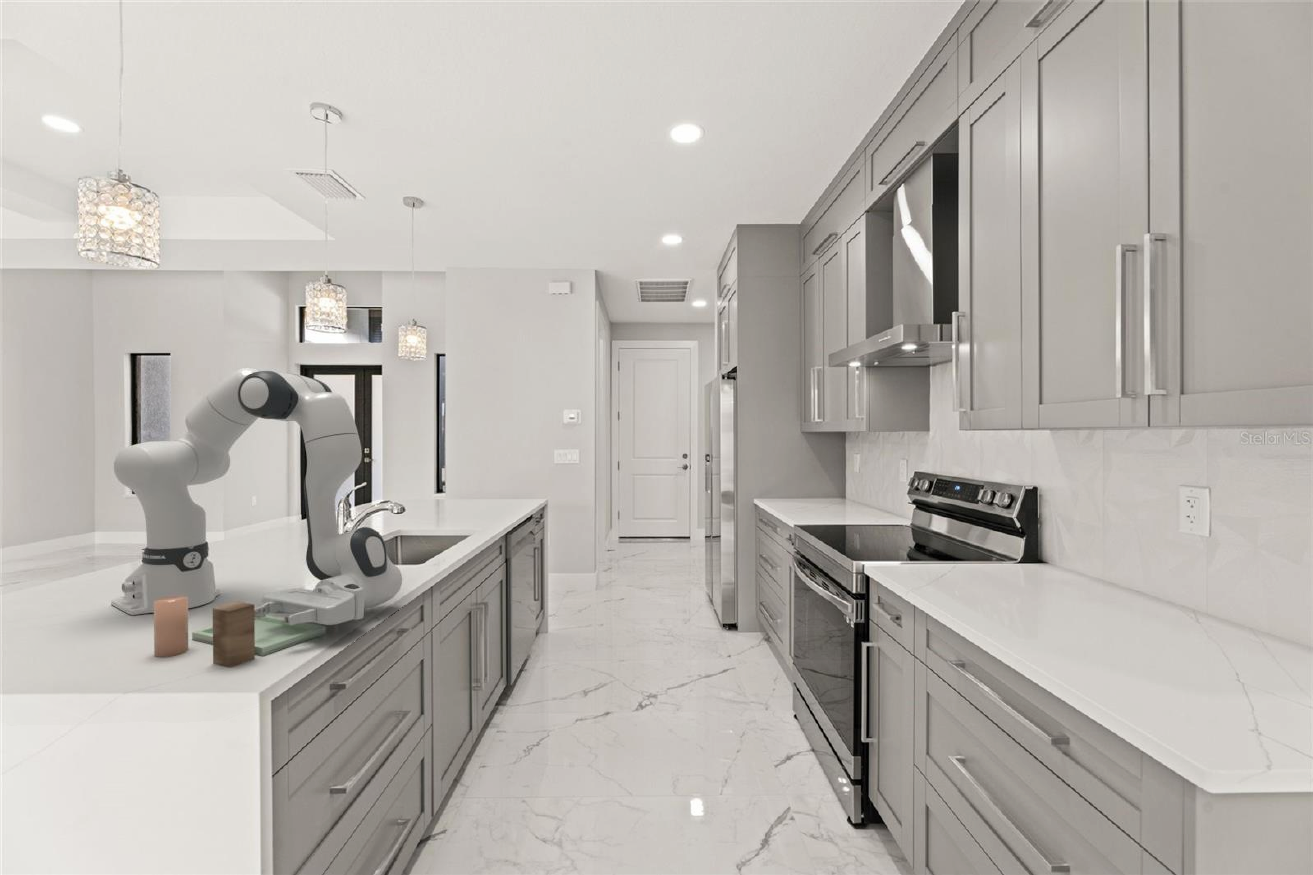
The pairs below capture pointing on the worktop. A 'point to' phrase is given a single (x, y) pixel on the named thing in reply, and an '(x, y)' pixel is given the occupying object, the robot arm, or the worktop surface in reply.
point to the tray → (271, 634)
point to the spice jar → (170, 626)
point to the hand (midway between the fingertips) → (270, 617)
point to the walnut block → (233, 634)
